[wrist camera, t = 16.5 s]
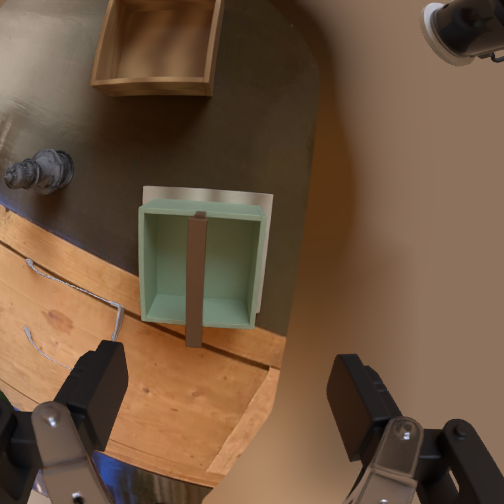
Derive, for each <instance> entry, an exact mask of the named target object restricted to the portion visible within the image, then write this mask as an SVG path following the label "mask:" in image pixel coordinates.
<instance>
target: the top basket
mask: <svg viewBox="0 0 504 504" xmlns="http://www.w3.org/2000/svg"><path fill="white" fill-rule="evenodd" d="M266 222H267V215H266V214H265V212H264V211H263V209H262V208H261V207H260V206H259V205H247V204H235V203H222V202H208V201H193V200H177V199H159V198H154V199H153V200H151V201H149V202H147V203H146V204H144V205H142V206H140V207H139V221H138V253H139V287H140V307H141V320H142V321H148V322H157V323H167V324H178V325H186V347H194V348H201V346H202V330H203V327H217V328H233V329H254V326H255V318H256V309H257V301H258V292H259V284H260V275H261V266H262V258H263V249H264V240H265V231H266Z"/></svg>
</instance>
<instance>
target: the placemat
mask: <svg viewBox="0 0 504 504" xmlns="http://www.w3.org/2000/svg"><path fill="white" fill-rule="evenodd" d="M154 198H159V199H177V200H193V201H208V202H222V203H235V204H247V205H259V206H260V207H261V208H262V209H263V211H264V212H265V214H266V215H267V222H266V231H265V240H264V249H263V258H262V266H261V275H260V284H259V292H258V301H257V309H256V313H260V305H261V297H262V288H263V280H264V272H265V263H266V255H267V246H268V238H269V229H270V220H271V211H272V202H273V194H263V193H252V192H241V191H228V190H215V189H200V188H183V187H164V186H143V205H144V204H146V203H147V202H149V201H151V200H153V199H154Z"/></svg>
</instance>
